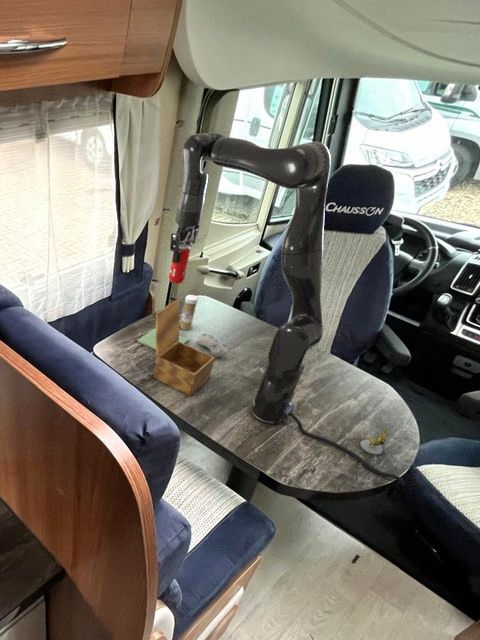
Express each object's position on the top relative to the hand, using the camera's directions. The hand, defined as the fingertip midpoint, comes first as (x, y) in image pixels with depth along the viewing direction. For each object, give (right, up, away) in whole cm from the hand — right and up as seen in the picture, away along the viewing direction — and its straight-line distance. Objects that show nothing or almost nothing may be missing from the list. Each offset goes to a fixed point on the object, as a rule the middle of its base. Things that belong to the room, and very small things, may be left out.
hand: (180, 259), depth 146 cm
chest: (+2, -39, +6) cm, 39 cm away
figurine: (+50, -59, -19) cm, 80 cm away
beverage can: (0, -6, +5) cm, 8 cm away
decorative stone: (+16, -29, +19) cm, 38 cm away
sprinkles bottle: (+10, -18, +32) cm, 38 cm away
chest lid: (-4, -22, 0) cm, 23 cm away
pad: (0, -25, +23) cm, 34 cm away
